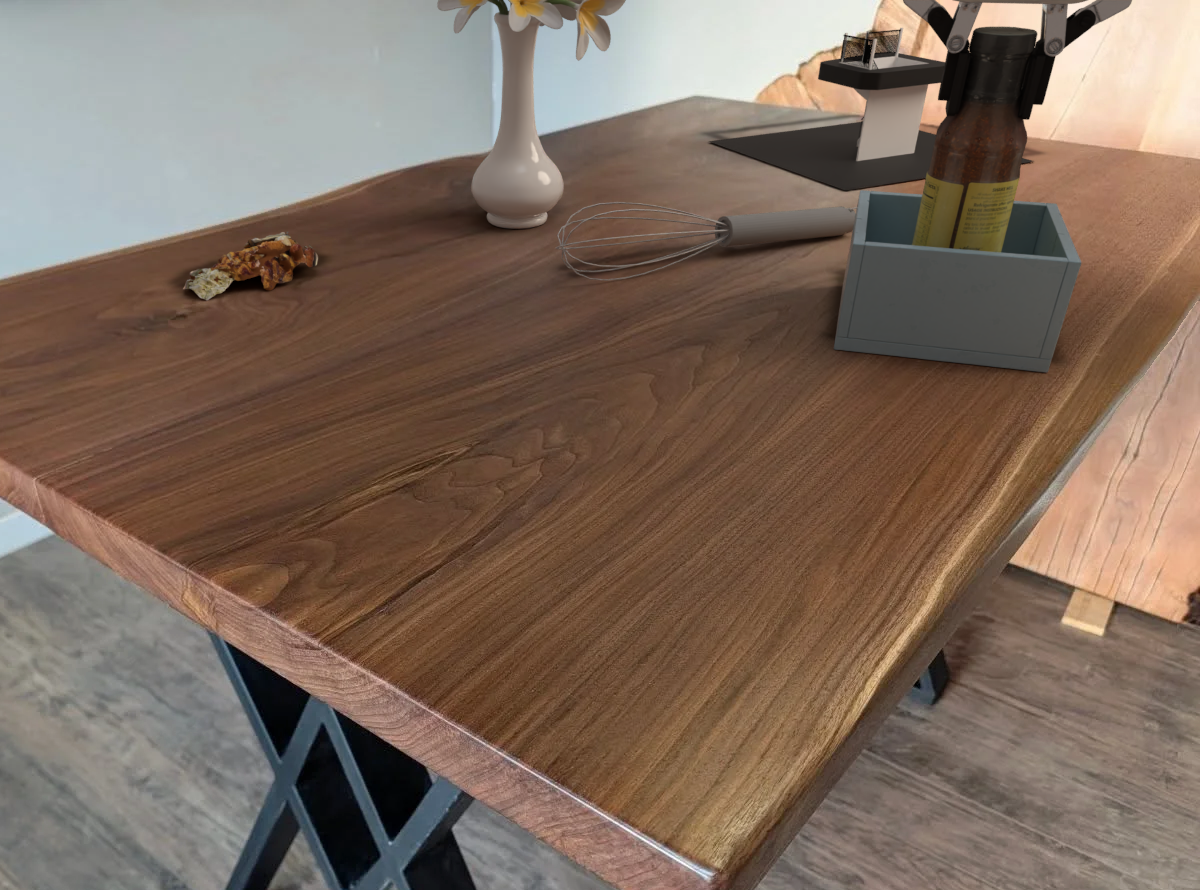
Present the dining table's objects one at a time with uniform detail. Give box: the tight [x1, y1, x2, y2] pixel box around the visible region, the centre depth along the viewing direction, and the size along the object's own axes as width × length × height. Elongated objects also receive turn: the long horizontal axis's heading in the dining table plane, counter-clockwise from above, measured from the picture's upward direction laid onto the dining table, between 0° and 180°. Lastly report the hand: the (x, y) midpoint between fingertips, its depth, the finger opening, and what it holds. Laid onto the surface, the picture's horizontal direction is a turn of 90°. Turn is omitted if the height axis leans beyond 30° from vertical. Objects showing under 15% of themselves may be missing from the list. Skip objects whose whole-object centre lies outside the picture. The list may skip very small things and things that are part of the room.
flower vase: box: [436, 0, 627, 230], centre depth 100 cm, size 13×18×25 cm
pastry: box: [182, 231, 319, 301], centre depth 92 cm, size 7×12×4 cm, turn 137°
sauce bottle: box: [912, 26, 1038, 252], centre depth 76 cm, size 7×6×20 cm
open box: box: [833, 189, 1082, 374], centre depth 80 cm, size 15×15×8 cm
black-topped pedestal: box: [708, 27, 1035, 191], centre depth 125 cm, size 28×26×13 cm
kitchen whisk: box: [554, 201, 857, 282], centre depth 95 cm, size 6×34×6 cm, turn 115°
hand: (986, 111), depth 73 cm, fingers closed on sauce bottle, 4 cm apart
